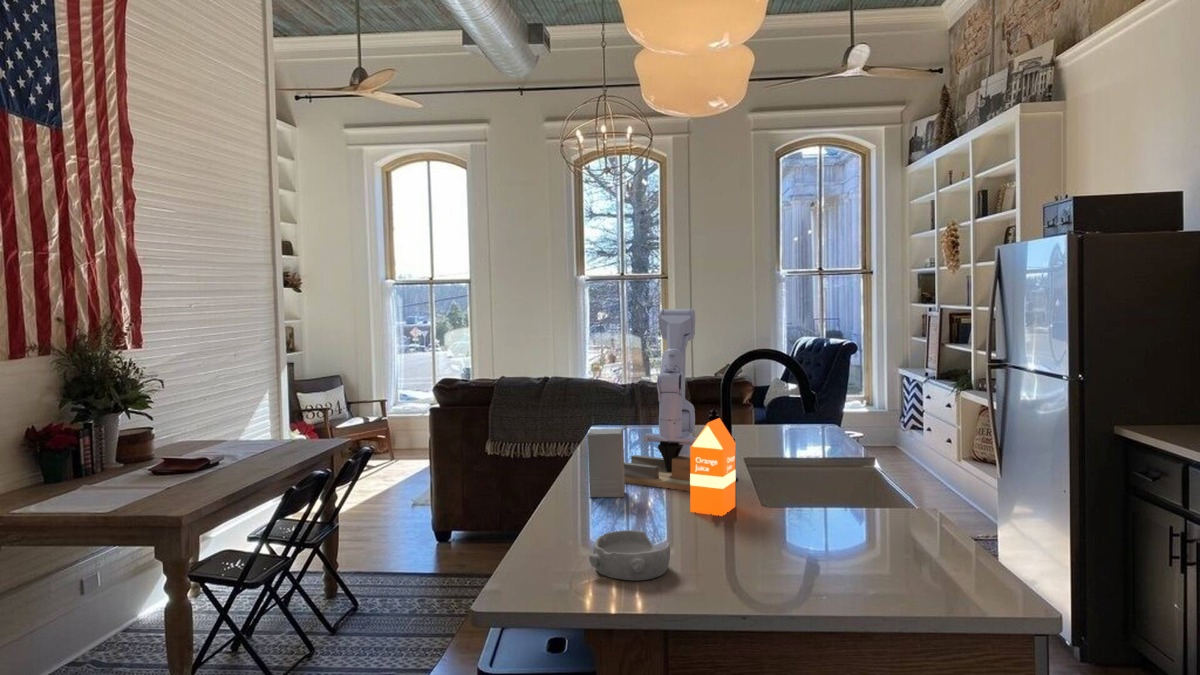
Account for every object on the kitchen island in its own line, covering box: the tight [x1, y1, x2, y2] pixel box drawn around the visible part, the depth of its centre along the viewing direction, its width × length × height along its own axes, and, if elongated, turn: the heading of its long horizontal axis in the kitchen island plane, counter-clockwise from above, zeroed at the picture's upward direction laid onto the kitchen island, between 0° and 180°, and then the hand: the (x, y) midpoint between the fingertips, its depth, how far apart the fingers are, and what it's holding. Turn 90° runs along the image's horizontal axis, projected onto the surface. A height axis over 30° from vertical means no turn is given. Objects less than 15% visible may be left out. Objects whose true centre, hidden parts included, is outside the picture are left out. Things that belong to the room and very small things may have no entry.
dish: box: [588, 529, 671, 581], centre depth 138 cm, size 14×14×5 cm
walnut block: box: [672, 455, 690, 481], centre depth 200 cm, size 6×5×5 cm
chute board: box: [624, 454, 690, 492], centre depth 204 cm, size 14×24×4 cm, turn 60°
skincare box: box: [586, 427, 626, 498], centre depth 188 cm, size 8×7×16 cm
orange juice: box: [689, 417, 737, 517], centre depth 175 cm, size 8×9×20 cm
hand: (670, 471), depth 202 cm, fingers closed
